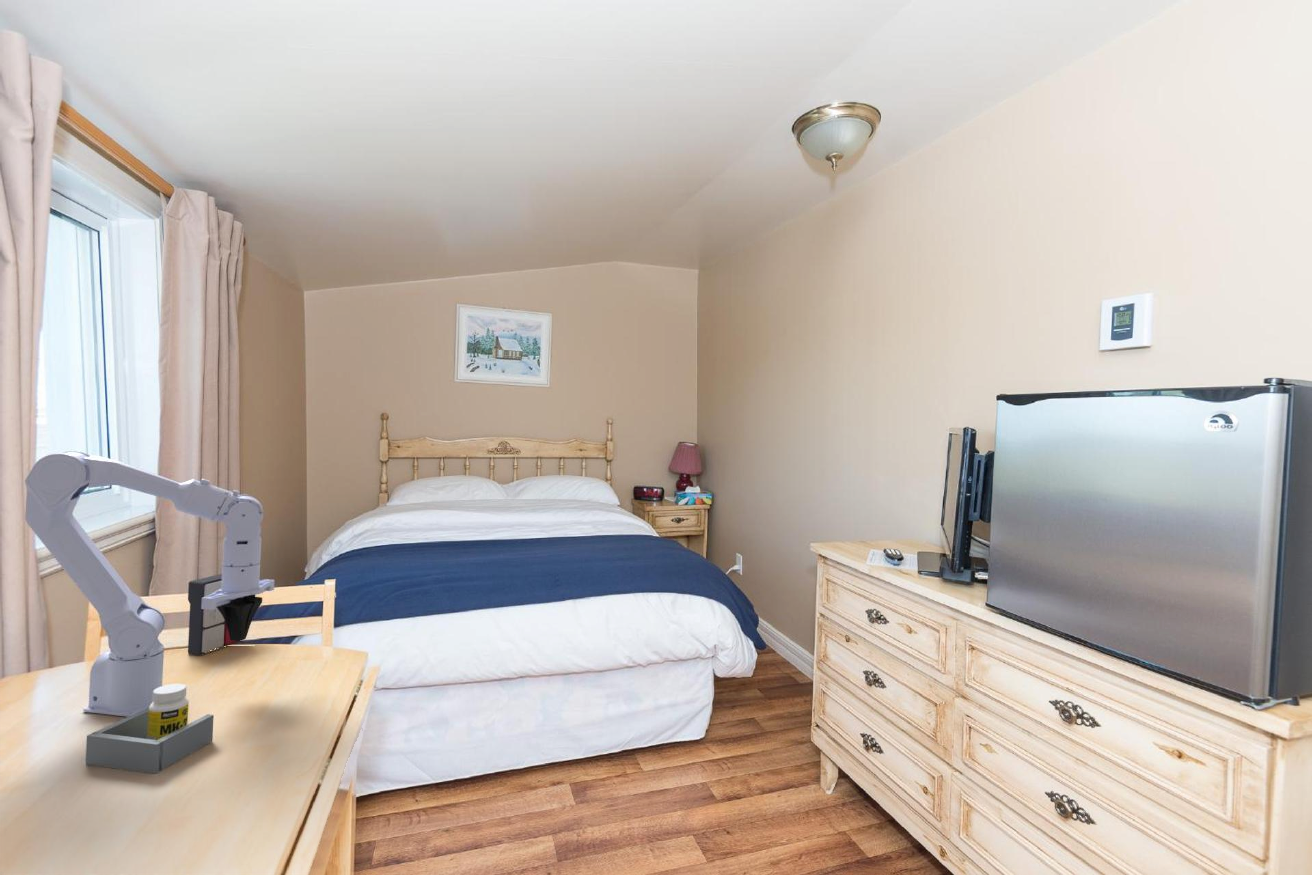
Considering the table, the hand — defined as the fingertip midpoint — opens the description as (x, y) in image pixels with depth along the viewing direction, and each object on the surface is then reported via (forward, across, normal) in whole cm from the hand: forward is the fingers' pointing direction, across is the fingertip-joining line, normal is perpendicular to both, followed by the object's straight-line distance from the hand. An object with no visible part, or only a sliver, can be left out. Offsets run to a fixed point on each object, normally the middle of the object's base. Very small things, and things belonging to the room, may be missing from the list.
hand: (238, 639), depth 115 cm
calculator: (+10, +19, +21) cm, 30 cm away
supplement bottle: (+10, -19, -5) cm, 22 cm away
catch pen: (+9, -21, -5) cm, 24 cm away
